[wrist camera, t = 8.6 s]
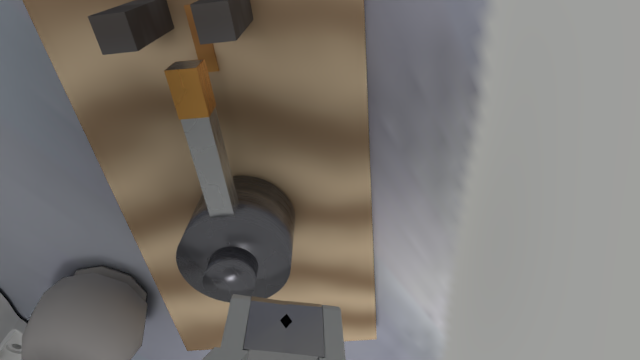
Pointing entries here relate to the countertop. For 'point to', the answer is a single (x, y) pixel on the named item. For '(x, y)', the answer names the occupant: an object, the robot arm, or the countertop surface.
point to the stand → (230, 132)
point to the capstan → (227, 205)
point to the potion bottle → (87, 318)
